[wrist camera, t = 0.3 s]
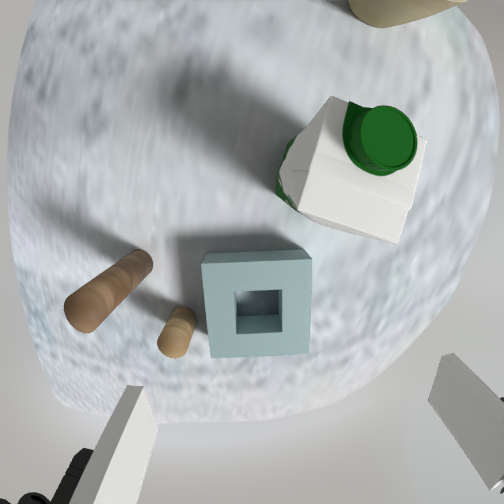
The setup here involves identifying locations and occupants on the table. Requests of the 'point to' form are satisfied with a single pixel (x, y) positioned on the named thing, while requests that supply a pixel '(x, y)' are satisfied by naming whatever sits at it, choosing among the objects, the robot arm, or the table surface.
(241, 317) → the socket block
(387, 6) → the plant pot
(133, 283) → the walnut pin long
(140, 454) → the robot arm
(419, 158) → the milk carton
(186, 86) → the table surface
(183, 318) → the oak pin short
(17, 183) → the table surface
